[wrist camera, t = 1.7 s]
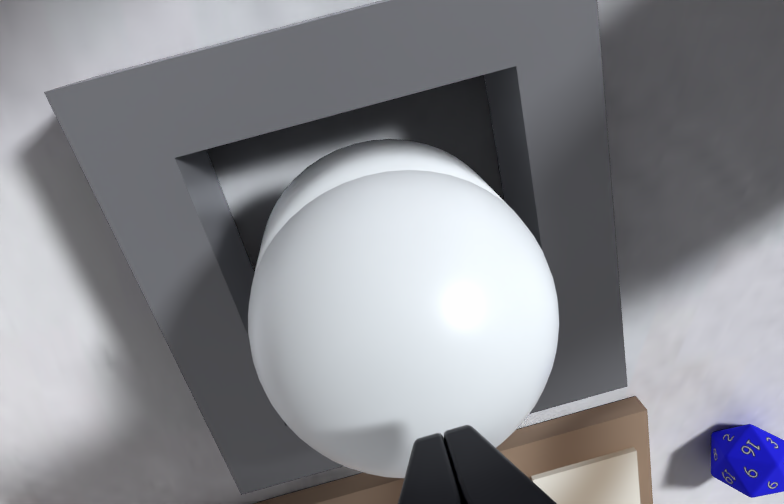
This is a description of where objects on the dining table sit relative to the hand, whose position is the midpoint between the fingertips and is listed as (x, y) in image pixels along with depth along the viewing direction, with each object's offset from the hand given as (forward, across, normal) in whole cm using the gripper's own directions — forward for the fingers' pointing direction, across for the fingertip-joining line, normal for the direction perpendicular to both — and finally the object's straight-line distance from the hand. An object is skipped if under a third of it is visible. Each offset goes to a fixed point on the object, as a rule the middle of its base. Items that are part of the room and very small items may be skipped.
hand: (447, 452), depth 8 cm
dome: (+7, 0, 0) cm, 7 cm away
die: (+10, -11, +13) cm, 20 cm away
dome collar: (+10, 0, 0) cm, 10 cm away
